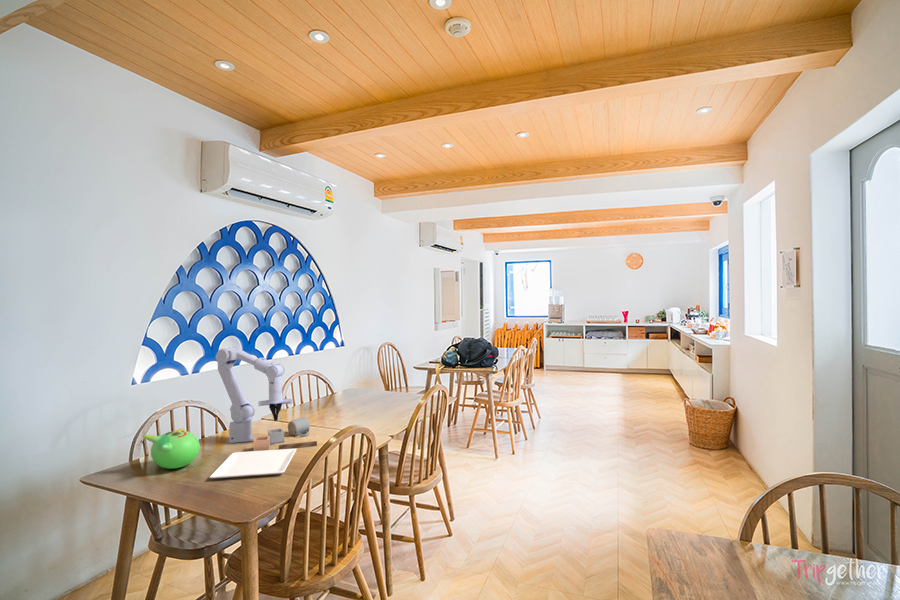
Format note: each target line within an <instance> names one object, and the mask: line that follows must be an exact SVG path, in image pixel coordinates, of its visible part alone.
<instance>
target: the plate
mask: <svg viewBox="0 0 900 600" xmlns="http://www.w3.org/2000/svg"><path fill="white" fill-rule="evenodd" d="M297 449H298V448H292V449H280V450H279V449H269V450H265V451H254V450H251V451H235V452H232V453H231V454H230V455H228V457H227V458H226V459H225V460H224V461H223V462H222V463H221V464H220V465H219V466H218V467H217V468H216V470H214V472H213V473H211V475H210V476H209V478H210V479H229V478H239V477H240V478H241V477H242V478H243V477H245V478H246V477H258V476H268V475H269V476H270V475H272V476H273V475H280V474H284V473H285V471H286V469H287V467H288V466H289V464H290V462H291V460H292V459H293V457H294V455H295V453H296V451H297Z"/></svg>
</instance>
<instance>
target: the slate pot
mask: <svg viewBox="0 0 900 600" xmlns="http://www.w3.org/2000/svg"><path fill="white" fill-rule="evenodd" d="M267 436H270V446H271V445H275V444H282V443H283V444H284V443H285V431H284V429H283V428H275V429H267Z"/></svg>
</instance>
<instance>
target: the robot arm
mask: <svg viewBox="0 0 900 600" xmlns="http://www.w3.org/2000/svg"><path fill="white" fill-rule="evenodd" d="M215 360H216V362H217V370H218V373H219V375H220V379H221V380H222V383H223V385H224V388H225V390H226V393H227V394H228V396H229V397H228V398H229V400H230V401H231V406H230V408H229V410H230V418H231V420H232V421H230V422H229V427H228V428H229V430H228V434H229V435H228V436H229V437H228V439H229V442H228V443H229V444H233V443H234V444H235V443H245V442H252V440H253V439H254V434H253V432H252V431H253V430H252V424H253V423H252V420H253V417H254V416H255V412H256V409H255V407H254V406H253V404H251V402H250V401H249V400H248V399H246V398H245V397H244V394H243V392H242V390H241V387H240V385H239V382H238V380H237V378H236V376H235V373H234V371H233V366H234V365H235V364H236V363H237V361H238V360H240V361H242V362H245V363H247V364H249V365H252V366H253V367H254V369H255V370H257V371H259V372H261V373H263V374H265V376H266V377H267V381H268V399H266V400H259V401H258V402H257V404H258V407H263V406H269V409H270V412H271V414H272V417H273V421H274V422H278V420H279V419H278V417H279V414H280V411H281V409H282V405H287V404H289V405H292V404H293V398H283V375H284V373H285V368H284V366H283V365H282V364H280V363H275V362H273V361H269V360H267V357H259V358H257V357H255V356H254V355H252V354H250V353H248V352H246V351H244V350H243V349H242V348H240V347H238V346H232V347H227V348H221V349H219V350H217V352H216V354H215Z"/></svg>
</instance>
